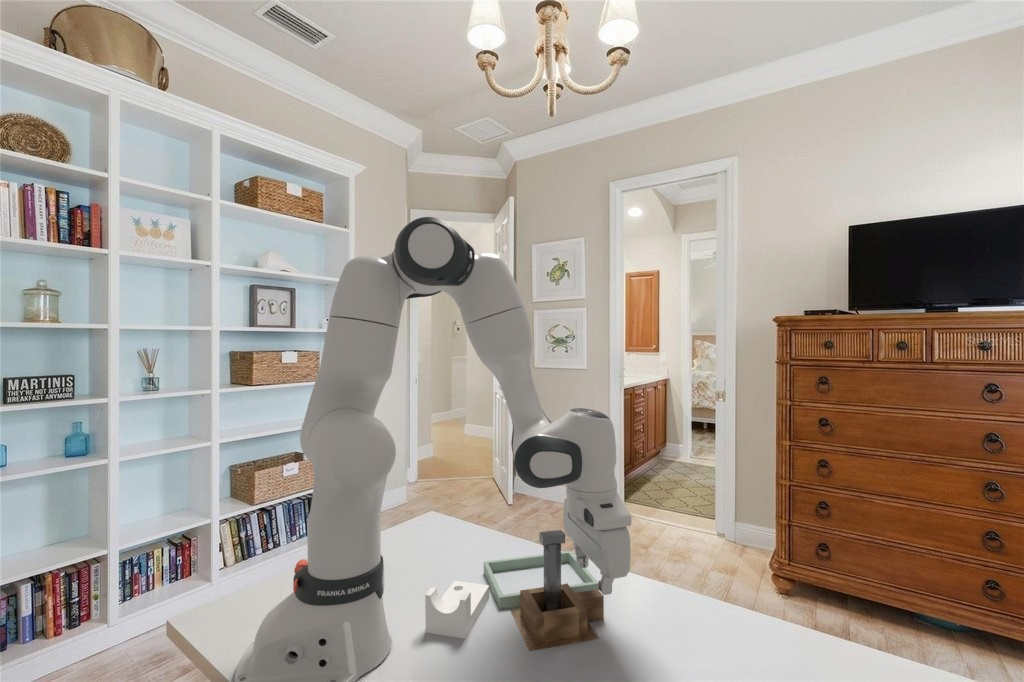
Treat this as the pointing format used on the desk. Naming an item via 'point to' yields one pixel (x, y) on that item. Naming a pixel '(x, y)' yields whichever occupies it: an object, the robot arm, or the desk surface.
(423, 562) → the desk surface
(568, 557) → the sage tray
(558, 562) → the post stand
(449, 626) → the bracket
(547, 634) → the walnut collar
